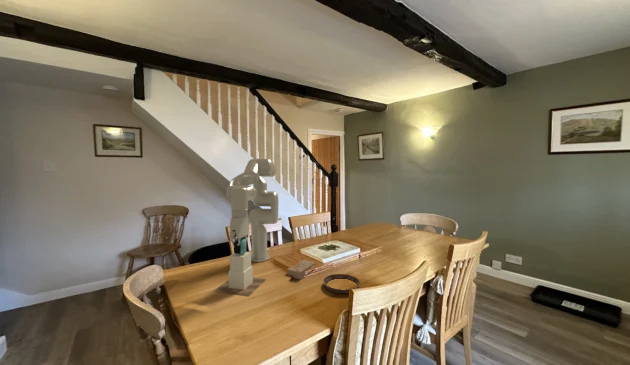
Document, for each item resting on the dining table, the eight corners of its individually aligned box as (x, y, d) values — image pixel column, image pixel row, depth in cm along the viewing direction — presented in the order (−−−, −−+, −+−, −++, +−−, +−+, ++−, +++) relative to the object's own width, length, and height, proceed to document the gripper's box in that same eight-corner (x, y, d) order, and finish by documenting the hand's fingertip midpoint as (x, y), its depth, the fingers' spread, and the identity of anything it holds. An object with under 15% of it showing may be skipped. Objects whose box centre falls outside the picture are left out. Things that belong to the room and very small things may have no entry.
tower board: (235, 277, 134) (235, 275, 134) (266, 281, 129) (266, 279, 129) (212, 294, 116) (212, 291, 116) (248, 299, 112) (248, 296, 112)
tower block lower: (238, 280, 128) (238, 264, 127) (252, 282, 125) (252, 266, 125) (228, 287, 120) (228, 270, 119) (244, 289, 118) (243, 272, 117)
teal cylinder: (238, 250, 125) (238, 237, 125) (248, 250, 124) (248, 238, 123) (232, 253, 120) (232, 240, 120) (242, 254, 119) (242, 241, 118)
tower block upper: (238, 265, 126) (238, 251, 126) (251, 266, 125) (250, 252, 124) (230, 270, 120) (229, 255, 119) (243, 272, 118) (243, 257, 117)
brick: (302, 266, 150) (302, 258, 149) (315, 269, 146) (315, 261, 145) (286, 277, 135) (286, 269, 135) (300, 281, 131) (300, 272, 131)
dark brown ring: (336, 276, 137) (336, 270, 137) (366, 286, 125) (366, 279, 125) (315, 288, 123) (315, 282, 123) (347, 300, 112) (347, 293, 112)
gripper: (242, 210, 130) (243, 245, 131) (221, 216, 113) (222, 256, 115) (255, 210, 128) (256, 246, 129) (236, 217, 111) (237, 258, 113)
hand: (240, 251), depth 122 cm, fingers closed on teal cylinder, 5 cm apart
